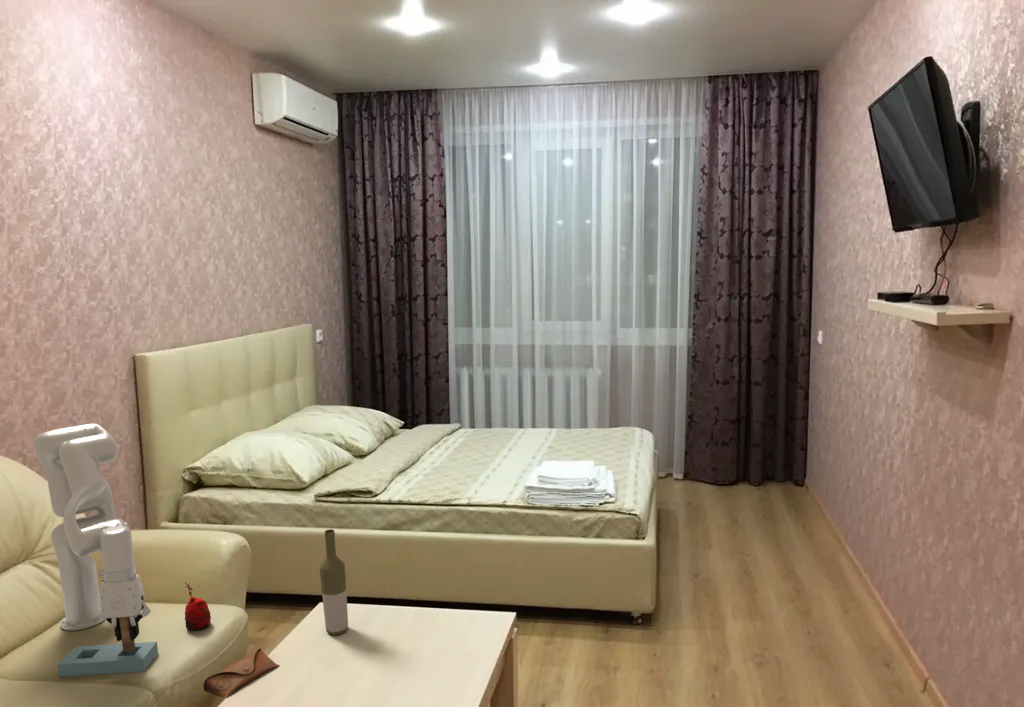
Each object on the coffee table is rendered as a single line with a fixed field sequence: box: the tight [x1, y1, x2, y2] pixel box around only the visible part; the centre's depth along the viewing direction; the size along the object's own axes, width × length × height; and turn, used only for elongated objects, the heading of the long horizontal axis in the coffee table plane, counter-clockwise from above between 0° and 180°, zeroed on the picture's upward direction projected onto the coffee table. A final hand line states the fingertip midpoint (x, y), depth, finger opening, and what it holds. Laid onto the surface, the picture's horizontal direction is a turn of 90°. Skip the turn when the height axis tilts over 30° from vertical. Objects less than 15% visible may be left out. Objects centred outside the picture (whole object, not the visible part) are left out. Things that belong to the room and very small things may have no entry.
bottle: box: [319, 528, 349, 636], centre depth 218 cm, size 7×7×30 cm
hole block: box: [57, 641, 159, 678], centre depth 206 cm, size 9×22×4 cm, turn 93°
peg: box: [119, 617, 136, 652], centre depth 205 cm, size 3×3×12 cm
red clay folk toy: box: [184, 581, 212, 631], centre depth 225 cm, size 8×7×15 cm
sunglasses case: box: [203, 647, 280, 699], centre depth 198 cm, size 18×7×7 cm
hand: (127, 637), depth 206 cm, fingers closed on peg, 3 cm apart
